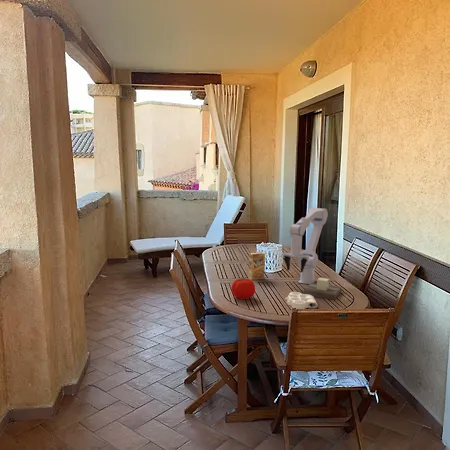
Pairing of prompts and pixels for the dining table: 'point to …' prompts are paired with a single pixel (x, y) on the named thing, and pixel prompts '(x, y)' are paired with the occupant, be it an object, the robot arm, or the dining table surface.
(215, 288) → the dining table surface
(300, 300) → the white brass knuckles
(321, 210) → the robot arm
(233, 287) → the tomato
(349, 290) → the dining table surface
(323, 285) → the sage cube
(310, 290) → the taupe base
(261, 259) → the candy box
